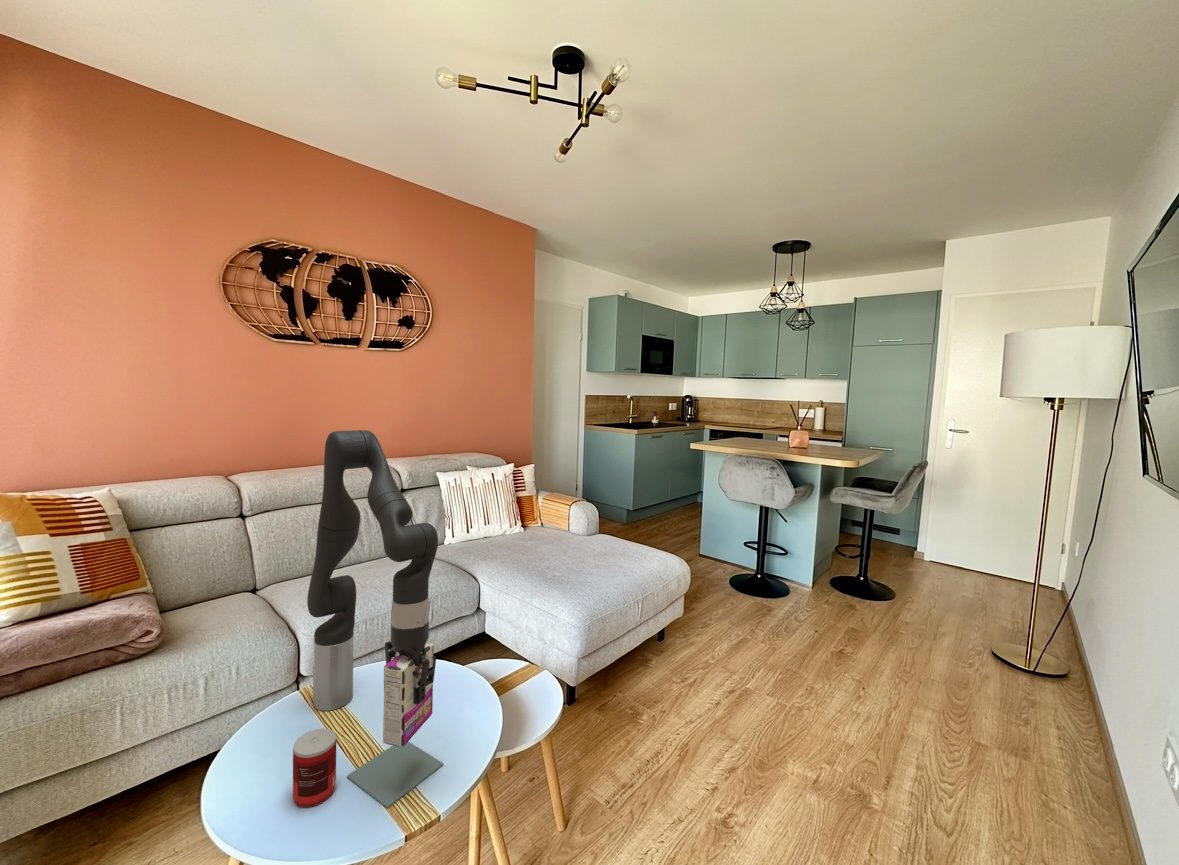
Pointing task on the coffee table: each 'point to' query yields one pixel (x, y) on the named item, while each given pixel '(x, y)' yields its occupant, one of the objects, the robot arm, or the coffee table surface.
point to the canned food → (314, 767)
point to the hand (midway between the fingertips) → (409, 696)
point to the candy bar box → (404, 701)
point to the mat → (394, 773)
